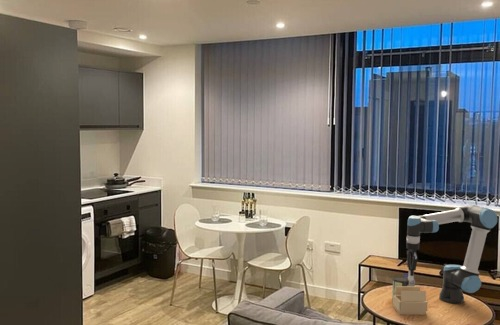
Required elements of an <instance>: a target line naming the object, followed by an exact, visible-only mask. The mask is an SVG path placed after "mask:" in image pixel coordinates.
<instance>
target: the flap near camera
mask: <svg viewBox="0 0 500 325" xmlns="http://www.w3.org/2000/svg"><path fill="white" fill-rule="evenodd" d="M401 301H427V293H426V290H420V291H401Z"/></svg>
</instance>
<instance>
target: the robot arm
mask: <svg viewBox="0 0 500 325" xmlns="http://www.w3.org/2000/svg"><path fill="white" fill-rule="evenodd" d="M453 222H454V223H455V222H458V223H463V222H464V223H465V222H466V223H470V228H471V229H472V230H471V234H470V237H469V242H468V246H467V249H466V252H465V257H464V260H463V261H464V262H463V265H460V264H446V265H444V266H443V274H442V288H441V290H440V292H439V299H440V300H441V301H443V302H445V303H449V304H462V303H464V302H465V297H464V292H466V293H468V294H473V293H475V292H477V291H479V290H480V288H481V286H482V279H481V278H480V272H479V270H478V269H479V266H480V262H481V259H482V254H483V251H484V248H485V247H484V246H485V243H486V238H487V236H488V235H487V234H488V233H489V232H491V229H493V228H494V227H495V226H496V225H497V223H498V216H497V212H495V211H494V210H492V209H491V208H488V207H484V206H479V205H475V204H474V205H473V204H470V205H464V206H460V207H459V206H458V207H456V208H455V209H452V210H445V211H441V212H434V213H429V214H423V215H410V216H409V217H408V219H407V227H406V228H407V229H406V230H407V231H406V237H405V238H406V245H405V246H406V247H405V249H407V250H406V260H407V261H406V263H407V264H406V267H407V268H408V273H407V274H408V275H407V276H408V280H409V281H413V279H415V278H414V277H415V276H414V275H415V271H416V269H417V265H418V259H419V256H418V253H417V251H419V250H420V242H421V240H420V239H421V234H423V233H424V234H429V233H431V234H433V233H437V232H438V231H439V229H440V227H439V226H440V225H444V224H449V223H453Z"/></svg>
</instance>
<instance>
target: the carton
mask: <svg viewBox="0 0 500 325" xmlns="http://www.w3.org/2000/svg"><path fill="white" fill-rule="evenodd" d="M392 305H393V308H394V310H396V312H397V313H398V314H399V315H400V316H427V312H428V301H427V300H426V301H401V295H394V296H393V300H392Z"/></svg>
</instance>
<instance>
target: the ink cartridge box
mask: <svg viewBox="0 0 500 325" xmlns="http://www.w3.org/2000/svg"><path fill="white" fill-rule="evenodd" d="M408 274H409V273H403V277H405V278H408ZM409 286H416V279H415V278H414V279H413V281H409Z"/></svg>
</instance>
